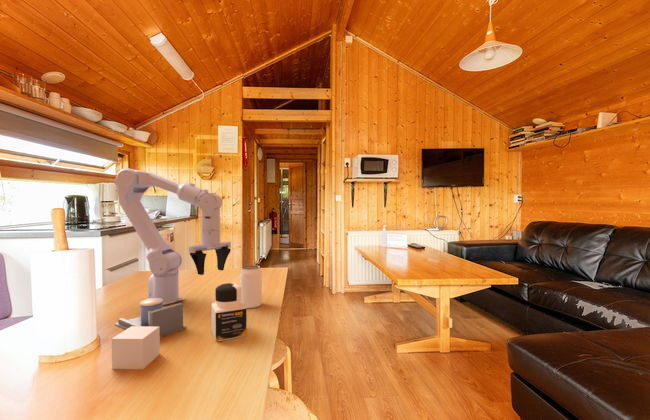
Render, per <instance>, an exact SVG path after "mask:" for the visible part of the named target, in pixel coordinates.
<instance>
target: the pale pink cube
mask: <svg viewBox="0 0 650 420" xmlns="http://www.w3.org/2000/svg"><path fill="white" fill-rule="evenodd" d="M160 338H161V337H160V330H159V327H149V326H131V327H130V328H128V329H126V330H125V329H124V330H123V331H122V332H120V333H118V334H117V335H115V336H114V337H112V338H111V370H112V369H113V370H144V369H145V368H146V367H148V365H150V364H151V362H153V361H154V360H155V359H156V358H157V357H158V356H160V354H161V353H160V352H161V350H160V349H161V348H160V347H161V345H160V344H161V343H160V342H161V340H160Z"/></svg>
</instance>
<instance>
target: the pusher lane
mask: <svg viewBox="0 0 650 420" xmlns="http://www.w3.org/2000/svg"><path fill="white" fill-rule="evenodd" d="M163 307H164V308H161V309H157V310H154V311H150V312H149V317H150V327H159V330H160V338H163V337H165V336H168V335H171V334H174V333H176V332H179V331H181V330H184V329H187V326H186V325H184V303H182V302H179V303H175V304H172V305H169V306H166V307H165V306H163ZM117 319H118V322H116V323H115V324H114V325H115V326H116V327H119V328H121V329H123V330H124V331H125V330H126V329H128V328H130V327H131V326H141V315H139V316H138V317H133V318H131V319H125V318H122V317H121V318H120V317H119V318H117Z"/></svg>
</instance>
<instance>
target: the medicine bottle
mask: <svg viewBox="0 0 650 420" xmlns="http://www.w3.org/2000/svg"><path fill="white" fill-rule="evenodd" d="M214 289H215V293H214V294H215V296H214V297H215V302H211V304H210V305H211V307H210V308H211V312H210V314H211V320H210V321H211V323H210V324H211V326H210V327H211V333H212V336H213V338H214V340H215V342H217V343H218V342H222V341H223V342H224V341H229V340H234V339H239V338H245V337H247V332H248V330H247V325H248V324H247V321H248V320H247V319H248V318H247V308H246V306H245V305H244V304H243V303H242V301H241V286H240V284H238V283H232V282H229V283H222V284H220V285H218V286H216V288H214Z"/></svg>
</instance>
